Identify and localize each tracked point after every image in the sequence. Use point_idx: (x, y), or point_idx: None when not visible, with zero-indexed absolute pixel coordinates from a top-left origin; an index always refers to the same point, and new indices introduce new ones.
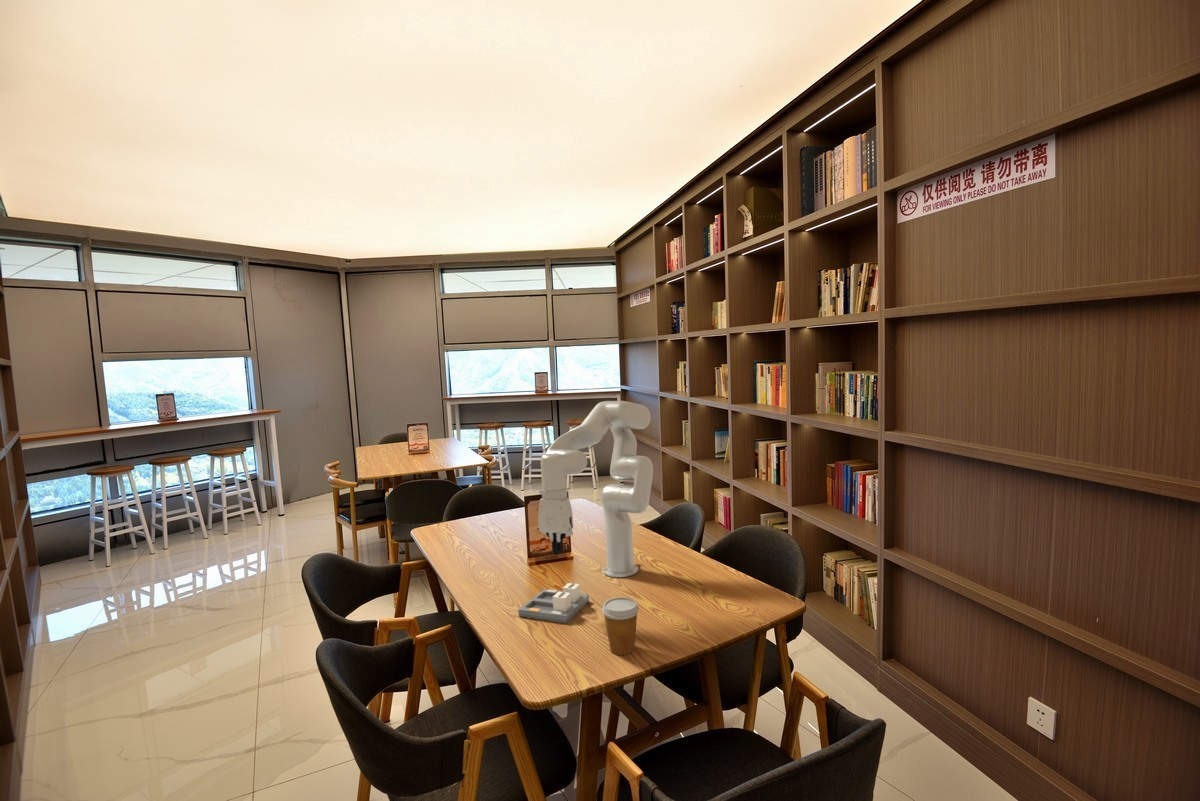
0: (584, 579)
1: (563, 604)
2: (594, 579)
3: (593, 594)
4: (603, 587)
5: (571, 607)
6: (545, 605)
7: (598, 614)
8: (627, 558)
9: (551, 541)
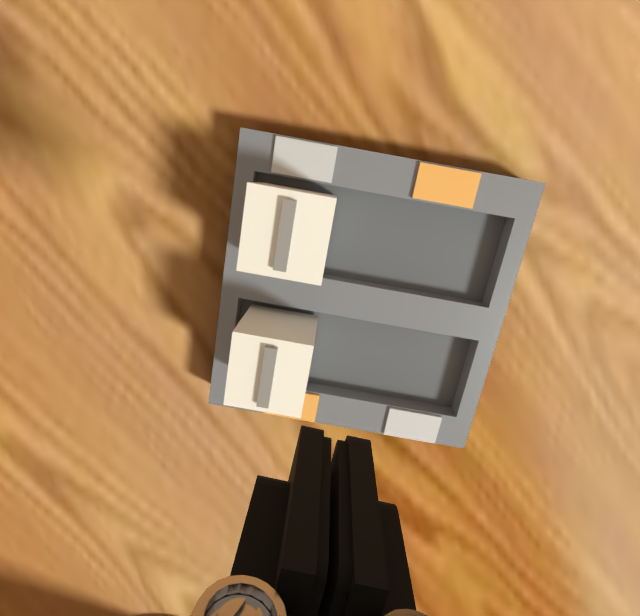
0: None
1: (265, 184)
2: None
3: (221, 459)
4: (199, 529)
5: None
6: (409, 290)
7: (127, 255)
8: None
9: (415, 613)
